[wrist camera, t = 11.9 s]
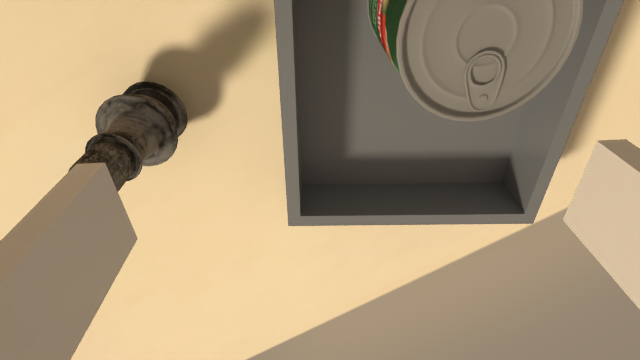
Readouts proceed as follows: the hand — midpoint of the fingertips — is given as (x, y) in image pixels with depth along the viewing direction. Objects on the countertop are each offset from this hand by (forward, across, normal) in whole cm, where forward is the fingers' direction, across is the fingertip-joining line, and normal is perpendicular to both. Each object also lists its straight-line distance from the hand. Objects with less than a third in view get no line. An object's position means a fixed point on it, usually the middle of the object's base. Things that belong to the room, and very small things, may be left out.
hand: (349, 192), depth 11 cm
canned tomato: (+19, +7, +2) cm, 21 cm away
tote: (+20, +7, -3) cm, 21 cm away
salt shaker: (+20, -14, -6) cm, 26 cm away
